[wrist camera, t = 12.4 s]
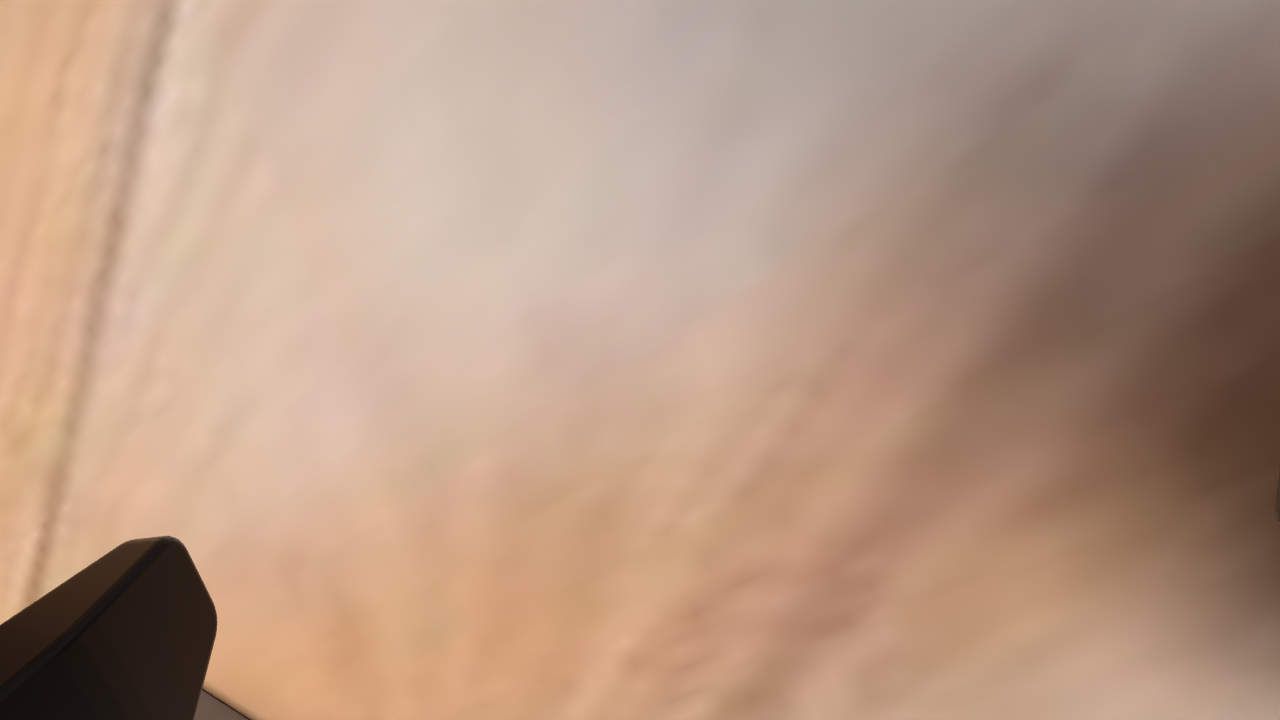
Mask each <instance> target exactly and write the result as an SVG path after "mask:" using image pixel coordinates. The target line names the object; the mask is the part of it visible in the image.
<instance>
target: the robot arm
mask: <svg viewBox="0 0 1280 720" xmlns="http://www.w3.org/2000/svg"><path fill="white" fill-rule="evenodd" d="M1275 510H1276V516H1277V519H1278V523H1279V526H1280V464H1279V471H1278V477H1277V484H1276V491H1275ZM216 631H217V614H216V610H215V606H214V603H213V601H212V599H211V597H210V595H209V593H208V591H207V589H206V587H205V585H204V583H203V581H202V579H201V577H200V575H199V573H198V571H197V569H196V567H195V565H194V563H193V561H192V559H191V557H190V555H189V553H188V551H187V549H186V547H185V546H184V544H183V543H182V542H181V541H179V540H178V539H177V538H174V537H171V536H161V537H152V538H143V539H135V540H130V541H127V542H124V543H123V544H121V545H119V546H118V547H116V548H115V549H113V550H112V551H110V552H109V553H107V554H106V555H104V556H103V557H101V558H100V559H98V560H97V561H95V562H94V563H92V564H91V565H89V566H88V567H86V568H85V569H83V570H82V571H80V572H79V573H77V574H76V575H74V576H73V577H72V578H70V579H69V580H67V581H66V582H64V583H63V584H61V585H60V586H58V587H57V588H55V589H54V590H52V591H51V592H49V593H48V594H46V595H45V596H43V597H42V598H40V599H39V600H37V601H36V602H34V603H33V604H31V605H30V606H28V607H27V608H25V609H24V610H22V611H21V612H19V613H18V614H16V615H15V616H13V617H12V618H10V619H9V620H7V621H6V622H4V623H3V624H1V625H0V720H194V719H195V715H196V711H197V707H198V703H199V699H200V695H201V691H202V688H203V684H204V680H205V676H206V672H207V668H208V664H209V660H210V656H211V652H212V649H213V645H214V641H215V637H216Z"/></svg>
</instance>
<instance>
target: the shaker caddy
mask: <svg viewBox="0 0 1280 720" xmlns="http://www.w3.org/2000/svg"><path fill="white" fill-rule="evenodd" d="M194 720H248V719H246V718H245V717H243V716H242V715H240V714H239V713H237V712H235V711H234V710H232V709H231V708H229V707H228V706H226V705H225V704H223V703H221V702H220V701H218V700H217V699H215V698H214V697H212V696H211V695H209V694H207V693H206V692H204V691H203V690H202V691H201V695H200V699H199V703H198V707H197V711H196V715H195V719H194Z"/></svg>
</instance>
